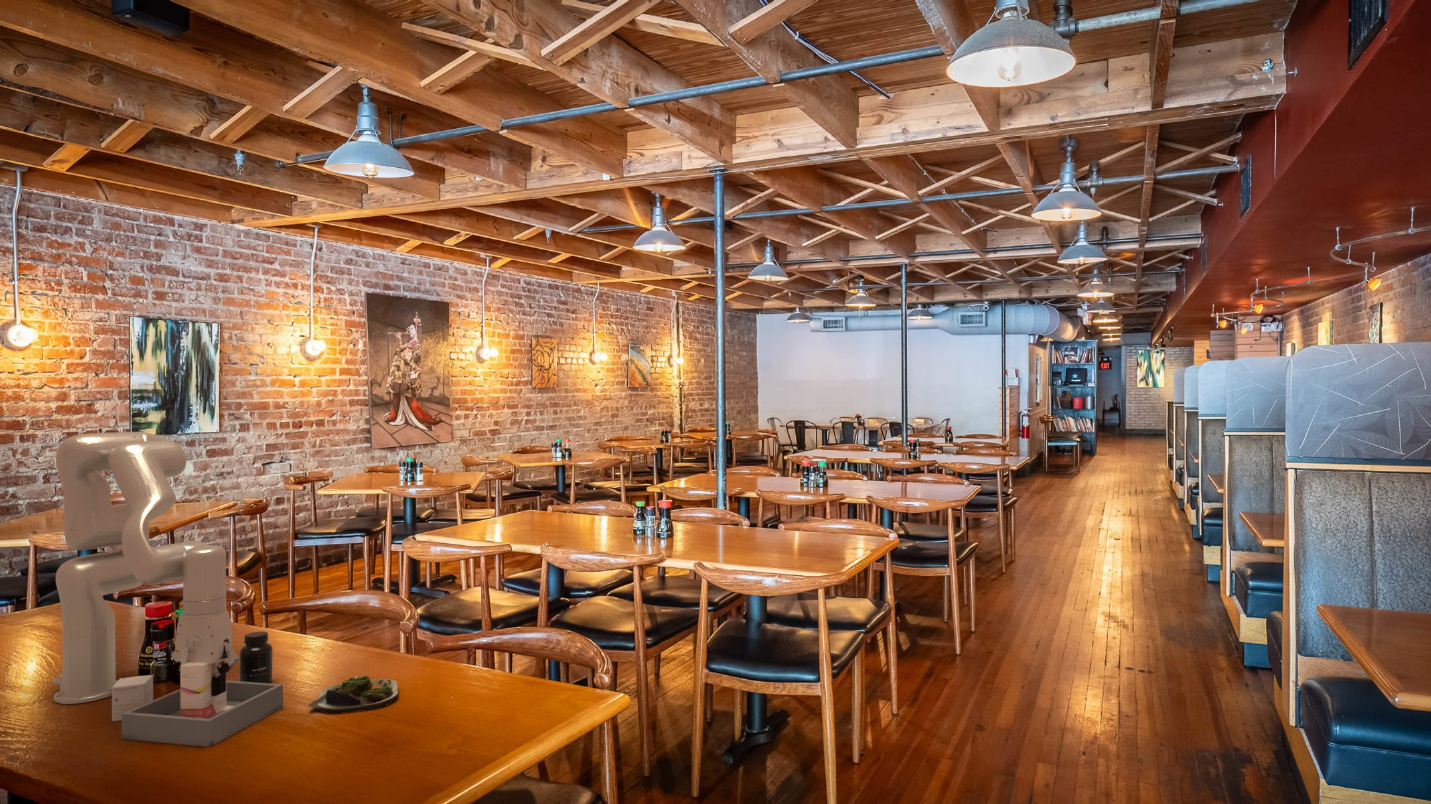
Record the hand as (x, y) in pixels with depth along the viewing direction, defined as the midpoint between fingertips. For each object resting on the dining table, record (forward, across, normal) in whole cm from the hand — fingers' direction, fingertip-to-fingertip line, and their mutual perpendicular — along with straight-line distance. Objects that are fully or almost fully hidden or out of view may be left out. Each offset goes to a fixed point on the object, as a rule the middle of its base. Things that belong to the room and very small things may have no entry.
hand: (205, 692), depth 168 cm
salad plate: (+7, +23, +17) cm, 30 cm away
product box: (+7, -19, +1) cm, 20 cm away
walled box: (+6, 0, 0) cm, 6 cm away
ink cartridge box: (+5, 0, 0) cm, 5 cm away
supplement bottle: (+7, -6, +21) cm, 23 cm away
